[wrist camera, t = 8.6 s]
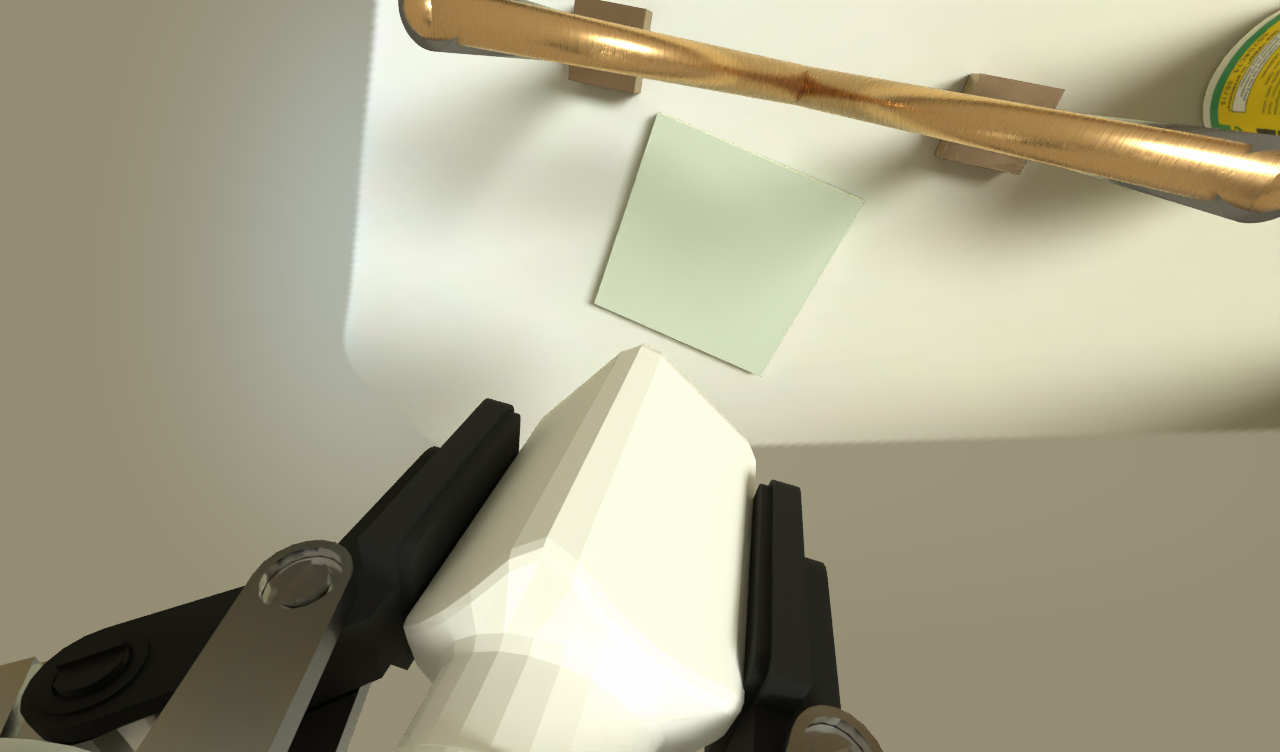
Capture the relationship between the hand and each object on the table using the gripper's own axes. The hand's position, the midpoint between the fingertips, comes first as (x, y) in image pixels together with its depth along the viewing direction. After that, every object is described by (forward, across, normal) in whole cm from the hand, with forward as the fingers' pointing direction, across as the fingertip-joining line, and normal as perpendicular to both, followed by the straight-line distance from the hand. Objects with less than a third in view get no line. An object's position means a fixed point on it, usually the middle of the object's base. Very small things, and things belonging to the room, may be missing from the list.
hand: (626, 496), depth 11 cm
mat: (+18, 0, 0) cm, 18 cm away
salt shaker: (+2, 0, 0) cm, 2 cm away
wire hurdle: (+18, -2, -8) cm, 20 cm away
